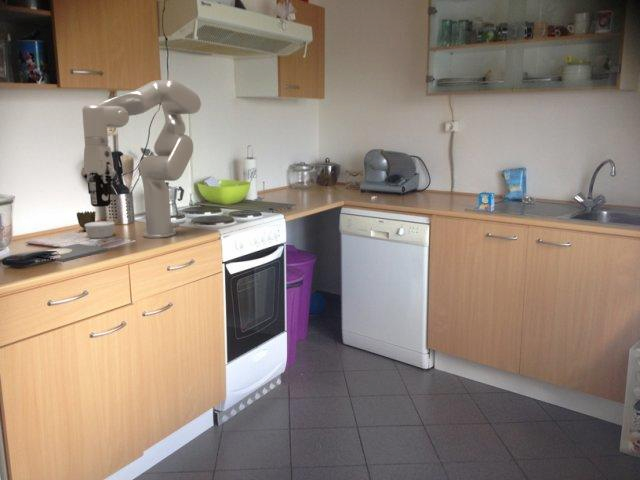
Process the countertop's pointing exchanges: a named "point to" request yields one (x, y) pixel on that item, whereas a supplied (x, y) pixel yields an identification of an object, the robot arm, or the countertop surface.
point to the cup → (85, 218)
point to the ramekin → (100, 229)
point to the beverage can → (98, 191)
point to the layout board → (77, 251)
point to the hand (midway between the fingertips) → (100, 193)
